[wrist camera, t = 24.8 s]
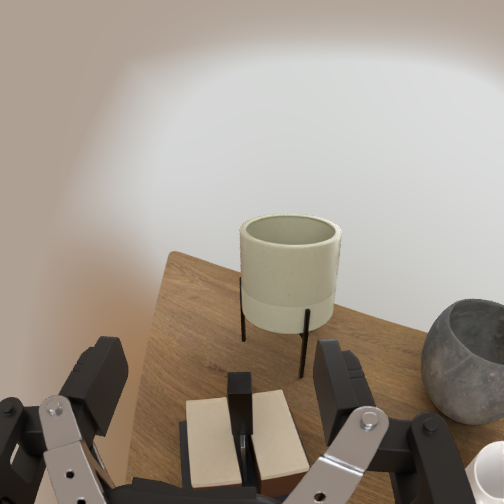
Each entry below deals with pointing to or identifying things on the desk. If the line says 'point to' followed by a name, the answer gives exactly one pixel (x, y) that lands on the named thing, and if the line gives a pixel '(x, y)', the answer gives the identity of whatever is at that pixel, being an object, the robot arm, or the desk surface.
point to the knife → (241, 409)
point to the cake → (229, 447)
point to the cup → (488, 474)
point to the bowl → (466, 362)
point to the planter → (288, 274)
